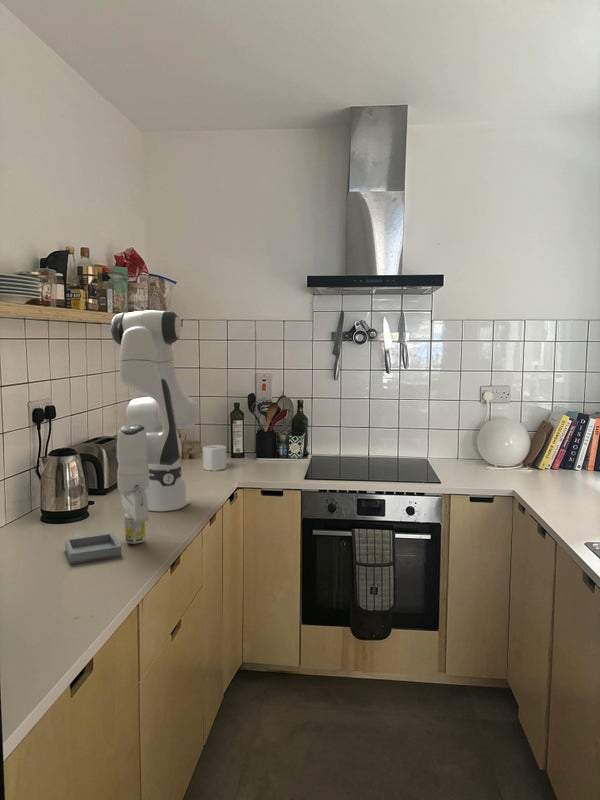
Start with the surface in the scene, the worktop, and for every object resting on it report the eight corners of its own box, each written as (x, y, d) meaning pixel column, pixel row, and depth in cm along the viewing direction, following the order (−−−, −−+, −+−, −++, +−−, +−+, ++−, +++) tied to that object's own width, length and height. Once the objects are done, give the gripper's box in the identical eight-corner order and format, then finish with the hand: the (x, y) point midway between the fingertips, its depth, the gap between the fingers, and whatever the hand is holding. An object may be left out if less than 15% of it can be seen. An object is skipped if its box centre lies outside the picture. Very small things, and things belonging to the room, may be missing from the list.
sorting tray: (65, 549, 170) (64, 539, 170) (112, 542, 176) (112, 532, 176) (70, 565, 159) (70, 554, 158) (121, 557, 165) (121, 546, 164)
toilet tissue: (219, 465, 285) (219, 444, 284) (231, 469, 276) (231, 447, 275) (199, 467, 279) (198, 446, 278) (210, 472, 270) (210, 450, 269)
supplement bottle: (146, 537, 179) (145, 503, 178) (143, 544, 173) (142, 509, 172) (127, 538, 178) (126, 504, 177) (123, 544, 173) (122, 509, 172)
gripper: (153, 488, 166) (154, 537, 168) (136, 473, 184) (138, 517, 186) (130, 491, 163) (131, 541, 165) (115, 475, 181) (117, 520, 183)
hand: (135, 528), depth 175 cm, fingers closed on supplement bottle, 5 cm apart
